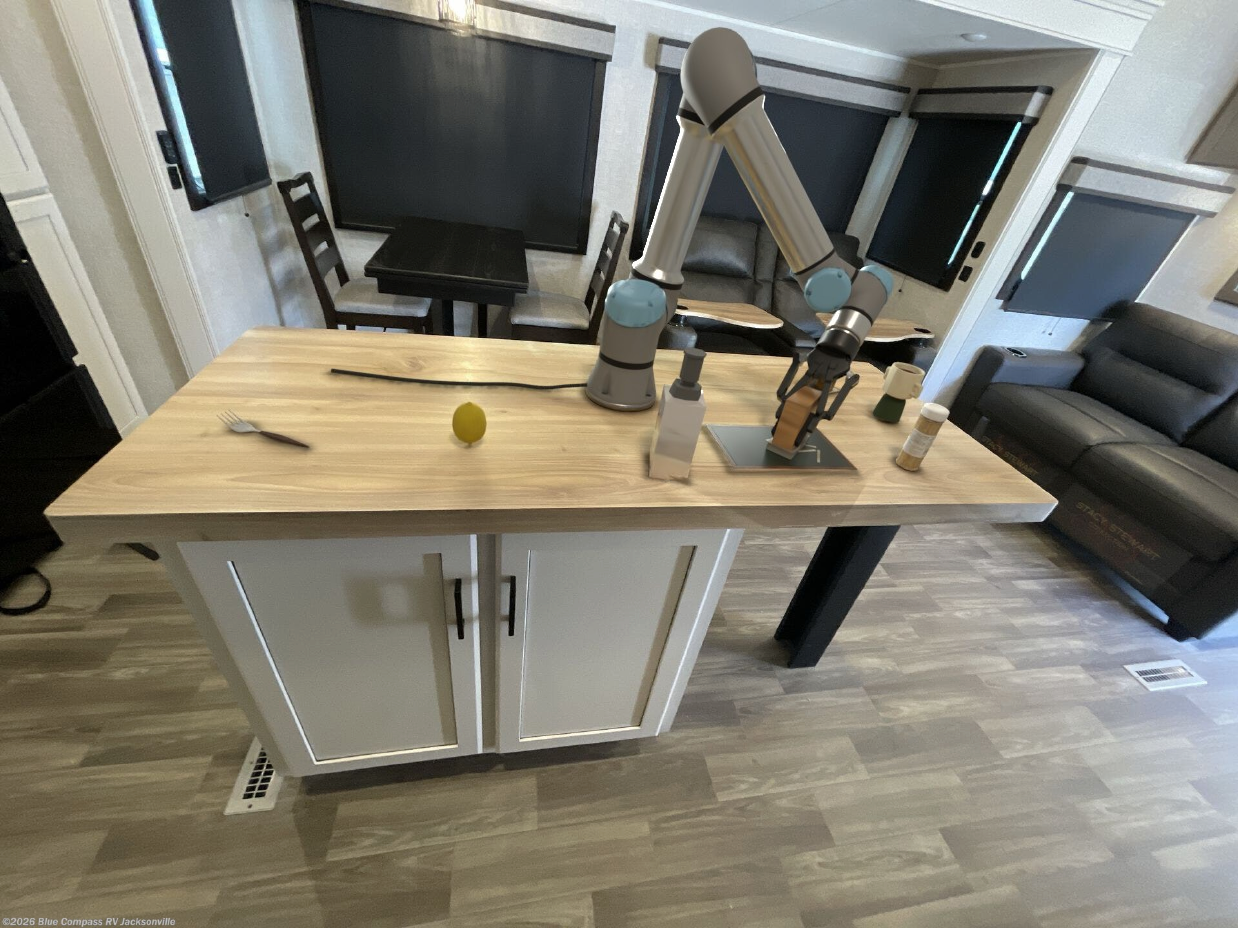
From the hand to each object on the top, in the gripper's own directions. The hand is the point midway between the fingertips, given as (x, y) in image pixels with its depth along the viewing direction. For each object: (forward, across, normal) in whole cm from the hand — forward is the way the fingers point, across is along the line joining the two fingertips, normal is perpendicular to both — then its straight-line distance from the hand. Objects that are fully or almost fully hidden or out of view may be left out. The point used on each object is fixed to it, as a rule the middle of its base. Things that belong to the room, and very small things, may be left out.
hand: (784, 439), depth 101 cm
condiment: (-28, +6, -34) cm, 44 cm away
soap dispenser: (+17, +14, +11) cm, 25 cm away
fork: (+48, +62, +42) cm, 89 cm away
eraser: (-1, 0, -5) cm, 5 cm away
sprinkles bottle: (-11, -21, -16) cm, 29 cm away
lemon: (+32, +41, +26) cm, 58 cm away
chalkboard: (+1, +1, -5) cm, 5 cm away
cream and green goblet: (-25, -12, -31) cm, 41 cm away
